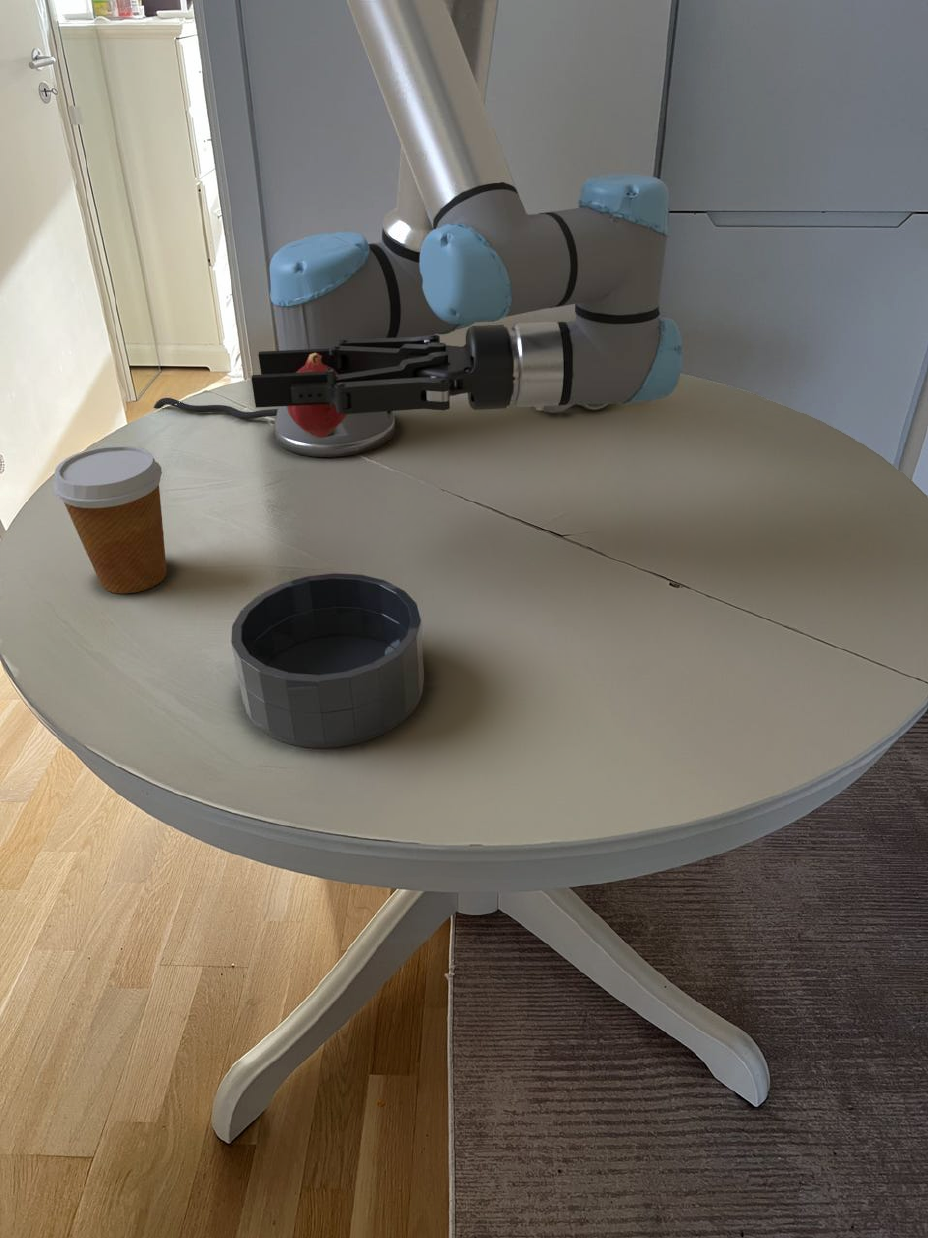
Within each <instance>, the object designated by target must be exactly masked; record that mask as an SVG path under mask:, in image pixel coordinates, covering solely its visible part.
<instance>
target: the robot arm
mask: <svg viewBox="0 0 928 1238" xmlns="http://www.w3.org/2000/svg"><path fill="white" fill-rule="evenodd" d="M499 1H500V0H346V3H347V6H348V8H349V11H350V13H351V16H352V18H353V22H354V24H355V27H356V30H357V32H358V35H359V37H360V40H361V42H362V45H363V48H364V50H365V53H366V55H367V58H368V60H369V63H370V66H371V69H372V71H373V74H374V76H375V80H376V82H377V85H378V87H379V90H380V93H381V95H382V98H383V100H384V103H385V106H386V108H387V110H388V114H389V116H390V118H391V121H392V124H393V126H394V129H395V133H396V134H397V137H398V140H399V142H400V157H399V158H400V159H399V173H398V186H397V197H396V199H397V200H396V206H395V207H393V208H392V209H390V211H388V212H387V213H386V214H385V215H384V217H383V220H382V229H381V239H380V241H379V242H372V243H368V240H367V238H366V237H365V236H364V235H362V234H360V233H358V232H354V231H337V232H333V233H331V232H325V233H318V234H314V235H310V236H306V237H302V238H300V239H297V240H295V241H292V242H290V243H287V244H286V245H284V246H282V247H281V248H280V249H278V251H276V252H275V254H274V255H273V256H272V258H271V259H270V263H269V279H270V292H269V296H270V297H269V298H270V301H271V303H272V307H273V314H274V322H275V329H276V336H277V337H276V338H277V345H278V350H264V351H263V350H262V351H261V350H260V351H258V354H257V356H258V363H259V368H260V374H252V375H251V377H250V378H251V385H252V391H253V392H252V393H253V398H254V404H255V405H254V406H255V408H256V409H257V408H258V409H259V408H269V409H261V410H256V411H255V410H253V411H242V410H240V409H237V408H235V407H232V406H229V405H224V404H207V405H206V404H204V405H194V404H189V403H185V402H182V401H180V400H177V399H175V398H172V397H162V398H160V399H159V400H157V401H156V402H155V404H154V405H153V409H156V410H158V409H162V408H163V407H164V406H165V405H169V406H171V407H175V408H177V409H179V410H181V411H184V412H189V413H224V414H225V413H226V414H229V415H232V416H233V417H235V418H239V419H242V420H253V419H258V418H268V417H275V418H274V434H275V439H276V442H277V443H278V444H279V445H280V446H281V447H282V448H284V449H286V450H287V451H289V452H292V453H295V454H298V455H304V456H309V457H319V458H321V457H322V458H323V457H324V458H333V457H344V456H345V457H346V456H353V455H357V454H362V453H365V452H369V451H372V450H374V449H376V448H379V447H381V446H382V445H384V444H385V443H387V442H388V441H390V440H391V439H392V438H393V436H394V435H395V432H396V422H395V415H394V412H396V411H397V412H398V411H411V410H412V411H413V410H432V411H433V410H434V411H446V410H450V408H451V403H450V397H454V396H458V395H463V394H467V399H468V400H467V401H468V404H469V407H470V408H471V409H472V410H473V411H484V410H485V411H486V410H503V409H504V410H505V409H507V407H509V406H510V405H511V402H513V403H514V405H515V406H516V407H517V408H532V407H534V409H535V410H536V411H540V412H541V411H542V412H543V409H544V406H556V405H572V404H574V405H578V404H606V403H609V404H621V405H629V404H632V403H633V404H634V403H642V402H652V401H655V400H662V399H665V398H667V397H669V396H670V395H671V394H672V393H673V392H674V391H675V389H676V387H677V385H678V383H679V380H680V377H681V372H682V366H683V356H682V347H683V342H682V341H683V340H682V335H681V331H680V328H679V326H678V324H677V322H676V321H675V319H673V318H670V317H667V316H665V317H663V316H662V315H661V311H660V299H661V298H660V297H661V289H662V280H663V272H664V264H665V257H666V250H667V240H668V238H669V233H670V232H669V217H670V205H669V204H670V191H669V188H668V186H667V184H666V183H665V182H664V181H663V180H661V179H660V178H658V177H654V176H651V175H647V174H636V173H609V174H608V173H607V174H600V175H596V176H594V177H589V178H588V179H586V180H585V181H584V182H583V183H582V186H581V189H580V197H579V200H578V201H577V203H578V207H575V208H569V209H562V210H553V211H545V212H539V213H532V214H531V213H530V214H529V213H527V211H526V209H525V206H524V204H523V201H522V199H521V197H520V194H519V192H518V189H517V187H516V185H515V181H514V179H513V176H512V174H511V171H510V167H509V165H508V163H507V160H506V158H505V155H504V152H503V150H502V148H501V145H500V142H499V139H498V137H497V135H496V132H495V131H496V130H495V129H494V127H493V124H492V122H491V118H490V116H489V113H488V111H487V108H486V106H485V104H486V97H487V90H488V83H489V74H490V68H491V62H492V61H491V60H492V54H493V53H492V52H493V46H494V38H495V31H496V22H497V16H498V10H499V9H498V8H499ZM571 305H574V313H575V320H571V321H540V322H539V321H538V322H537V321H536V322H516V323H514V325H513V326H512V327H511V330H509V328H507V326H505V325H504V324H487V325H485V324H484V325H474V324H476V323H486V322H487V323H490V322H497V321H500V320H502V319H504V318H508V317H512V316H517V315H522V314H526V313H527V314H528V313H532V312H536V311H541V310H545V309H553V308H554V309H555V308H559V307H565V306H571ZM465 328H467V330H466V333H465V344H464V345H462V346H459V345H450V344H446V343H445V342H441V338H440V335H441V336H442V335H448V334H451V333H454V332H455V331H458V330H462V329H465ZM313 353H317V354H319V355H320V356H322V359H321V361H322V364H324V365H326V366H328V367H330V368H328V369H327V370H326V372H305V373H296V372H297V371H298V370H299V369H300V368H302V367H303V366H304V365H305V364H306V362H307V360H308V357H309V355H310V354H313ZM335 371H336V372H337V373H338V374H339V375H335ZM179 402H180V403H179ZM175 404H177V405H175ZM318 404H330V406H333V407H336V408H337V413H338V414H347V415H346V417H345V418H344V420H343V421H342V422H341V423H340V424H339V425H338V427H336V428H335V429H334V430H333V431H332V432H330V434H329V435H328V436H327V437H324V438H319V437H316V436H314V435H312V434H310V433H308V432H306V431H304V430H303V429H302V428H301V427H299V426H298V425H297V424H296V423H295V422H294V421H293V419H292V418H291V416H290V415H289V413H288V409H287V406H298V405H318Z"/></svg>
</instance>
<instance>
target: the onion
mask: <svg viewBox="0 0 928 1238" xmlns="http://www.w3.org/2000/svg"><path fill="white" fill-rule="evenodd" d="M321 359H322V356H320V355H319V354H317V353H313V354H310V355H309V357H308V360H307V362H306V364H305V365H304V366H303V367H302V368H300V369H299V370H298V371H297V372H296V373H305V372H326V370H327V369H328V368H330V367H328V366H326V365H324V364H322V361H321ZM335 375H339V374H338V373H337V372H336V371H335ZM287 409H288V413H289V415H290V416H291V418H292V419H293V421H294V422H295V423H296V424H297V425H298V426H299V427H301V428H302V429H303V430H304V431H306V432H308V433H310V434H312V435H314V436H316V437H319V438H324V437H327V436H328V435H329V434H330V432H332V431H333V430H334V429H335V428H336V427H338V425H339V424H340V423H341V422H342V421H343V420H344V418H345V417H346V415H347V414H338V413H337V408H336V407H333V406H330V404H318V405H298V406H287Z"/></svg>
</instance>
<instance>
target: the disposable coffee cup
mask: <svg viewBox="0 0 928 1238" xmlns="http://www.w3.org/2000/svg"><path fill="white" fill-rule="evenodd" d="M55 467H56V468H55V470H54V481H53V483H52V489H53V490H52V491H53V492H54V493H55V495H56V496H58V498H59V499H60V500H61V501H62V502H63V504H64V506H65V508H66V510H67V513H68V514H69V517H70V519H71V522H72V524H73V525H74V528H75V530H76V533H77V535H78V537H79V539H80V541H81V543H82V547H83V548H84V550H85V552H86V555H87V557H88V559H89V561H90V563H91V565H92V568H93V571H94V572H95V574H96V577H97V579H98V582H99V583H100V586H101V587H102V588H103V590H105V591H107V592H110V593H114V594H122V595H123V594H133V593H138V592H142V591H146V590H148V589H150V588H153V587H155V586H157V585H158V584H160V583H161V582H162V581H163V580H164V579H165V578H166V576H167V573H168V571H167V570H168V569H167V568H168V567H167V560H166V549H165V538H164V534H165V533H164V524H163V515H162V513H163V512H162V503H161V490H160V482H161V478H162V474H163V471H162V467H161V465H160V464H159V462H157V461H156V460H155V457H154V455H153V453H152V452H151V451H149V450H147V449H145V448H143V447H141V446H135V445H126V444H114V445H105V446H99V447H93V448H89V449H87V450H83V451H79V452H77V453H74V454H72V455H70V456H68V457H66V458H65V459H63V460H62V461H61V462H59V464H58V465H57V466H55Z"/></svg>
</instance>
